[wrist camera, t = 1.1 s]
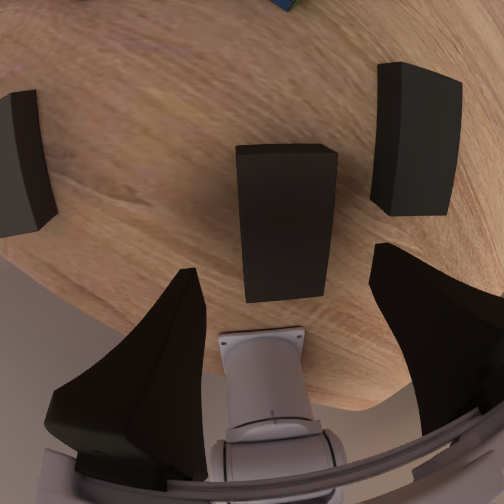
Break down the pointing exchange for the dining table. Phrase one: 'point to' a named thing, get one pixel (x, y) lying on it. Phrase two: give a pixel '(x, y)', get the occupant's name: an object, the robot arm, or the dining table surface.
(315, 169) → the pad top
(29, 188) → the pad
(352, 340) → the dining table surface
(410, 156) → the pad base
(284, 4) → the puzzle toy
